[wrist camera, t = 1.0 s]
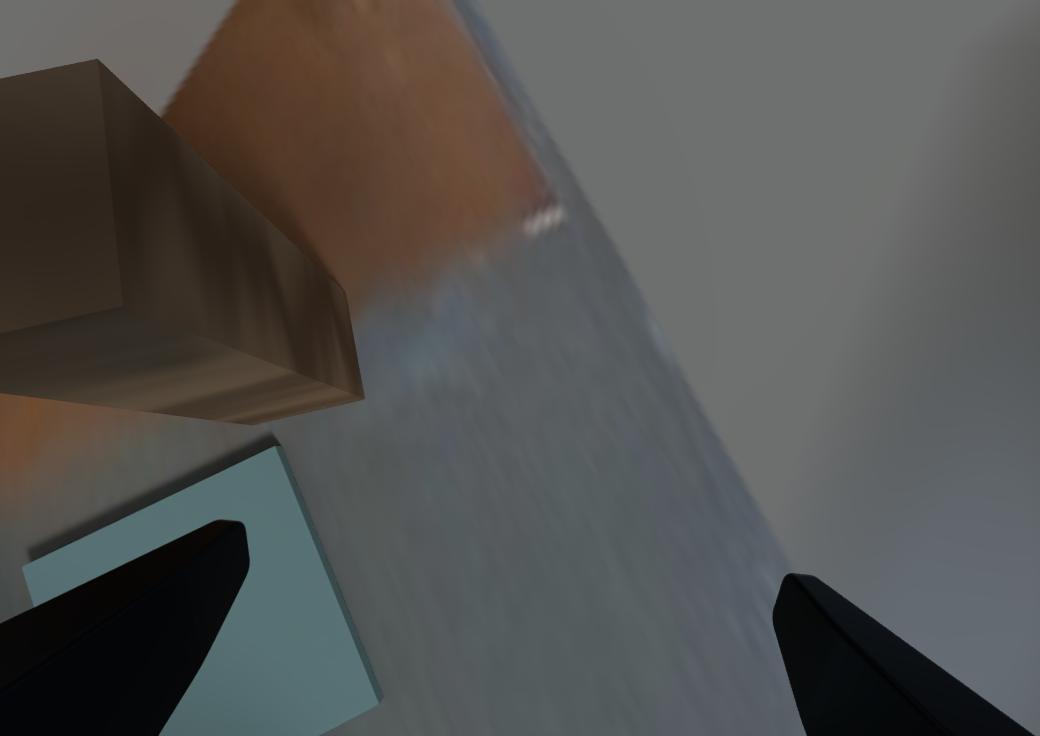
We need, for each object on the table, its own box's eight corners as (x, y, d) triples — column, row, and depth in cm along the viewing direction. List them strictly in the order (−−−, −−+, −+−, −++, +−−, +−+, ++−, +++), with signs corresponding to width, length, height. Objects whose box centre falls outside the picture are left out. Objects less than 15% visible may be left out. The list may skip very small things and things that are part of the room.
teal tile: (383, 697, 21) (379, 704, 20) (119, 835, 20) (107, 846, 19) (281, 446, 22) (274, 445, 22) (35, 563, 22) (21, 566, 21)
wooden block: (364, 399, 23) (123, 306, 9) (251, 425, 23) (-171, 370, 9) (345, 292, 24) (97, 58, 10) (236, 317, 23) (-171, 113, 10)
